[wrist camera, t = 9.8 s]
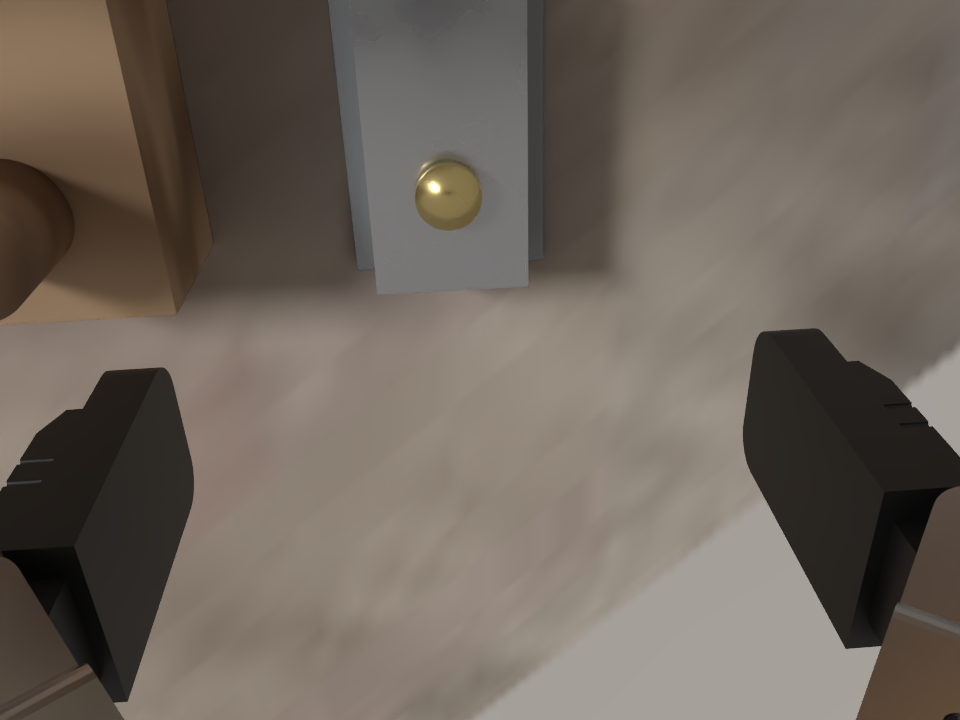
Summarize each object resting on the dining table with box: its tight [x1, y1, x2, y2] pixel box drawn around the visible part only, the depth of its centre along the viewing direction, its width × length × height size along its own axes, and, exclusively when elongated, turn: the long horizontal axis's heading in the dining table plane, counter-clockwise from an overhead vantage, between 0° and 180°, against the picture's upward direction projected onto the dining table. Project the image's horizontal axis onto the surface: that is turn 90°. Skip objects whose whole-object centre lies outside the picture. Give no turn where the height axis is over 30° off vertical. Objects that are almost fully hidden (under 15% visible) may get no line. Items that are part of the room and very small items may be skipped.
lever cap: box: [349, 0, 528, 295], centre depth 25 cm, size 9×4×4 cm, turn 2°
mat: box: [328, 0, 544, 270], centre depth 27 cm, size 10×6×1 cm, turn 2°
